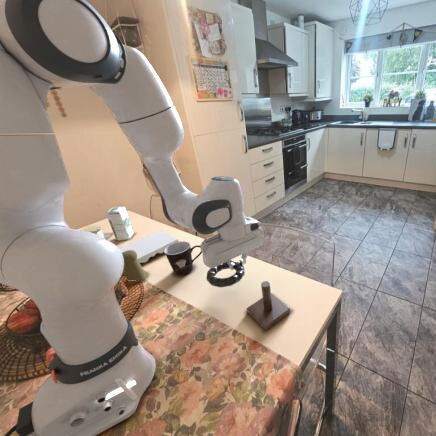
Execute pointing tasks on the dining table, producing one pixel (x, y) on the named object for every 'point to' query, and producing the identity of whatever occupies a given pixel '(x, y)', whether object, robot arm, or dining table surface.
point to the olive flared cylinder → (133, 267)
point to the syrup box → (120, 223)
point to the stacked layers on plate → (96, 231)
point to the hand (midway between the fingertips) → (238, 266)
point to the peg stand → (268, 308)
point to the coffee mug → (180, 257)
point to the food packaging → (150, 245)
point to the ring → (225, 281)
